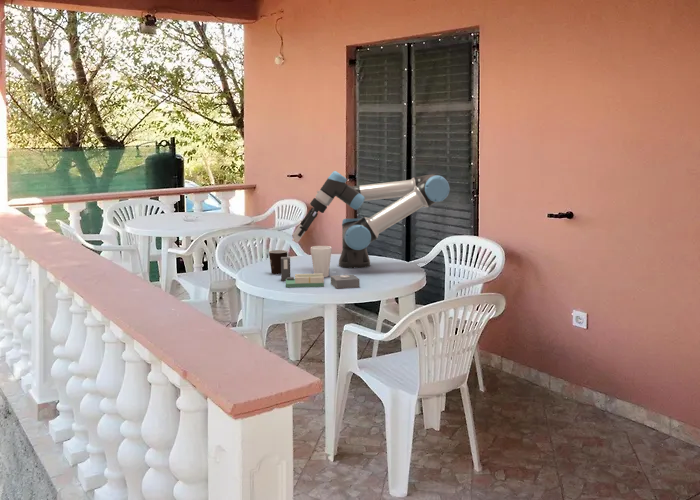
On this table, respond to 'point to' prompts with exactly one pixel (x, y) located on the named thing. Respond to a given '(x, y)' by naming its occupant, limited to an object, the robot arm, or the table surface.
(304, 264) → the table surface
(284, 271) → the plug
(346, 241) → the robot arm
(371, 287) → the table surface
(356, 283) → the dark grey box
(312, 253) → the foam cup
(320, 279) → the socket
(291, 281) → the board
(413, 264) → the table surface
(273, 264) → the coffee mug
